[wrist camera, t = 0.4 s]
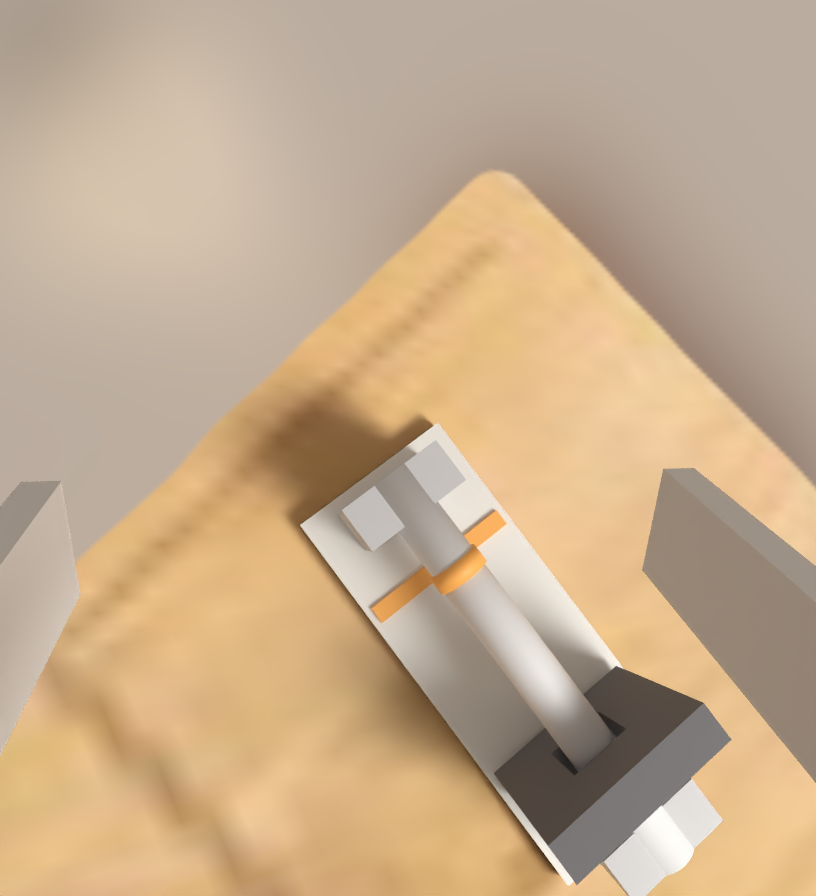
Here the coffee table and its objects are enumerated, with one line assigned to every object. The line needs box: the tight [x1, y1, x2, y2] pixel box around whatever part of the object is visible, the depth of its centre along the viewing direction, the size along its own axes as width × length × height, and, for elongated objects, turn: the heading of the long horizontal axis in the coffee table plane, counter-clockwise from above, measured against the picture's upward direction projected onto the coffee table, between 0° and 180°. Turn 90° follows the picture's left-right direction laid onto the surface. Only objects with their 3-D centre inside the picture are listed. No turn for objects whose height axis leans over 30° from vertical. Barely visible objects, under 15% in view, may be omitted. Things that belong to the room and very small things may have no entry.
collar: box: [494, 666, 731, 884], centre depth 41 cm, size 2×11×11 cm, turn 127°
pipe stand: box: [300, 423, 723, 896], centre depth 44 cm, size 30×12×9 cm, turn 37°
